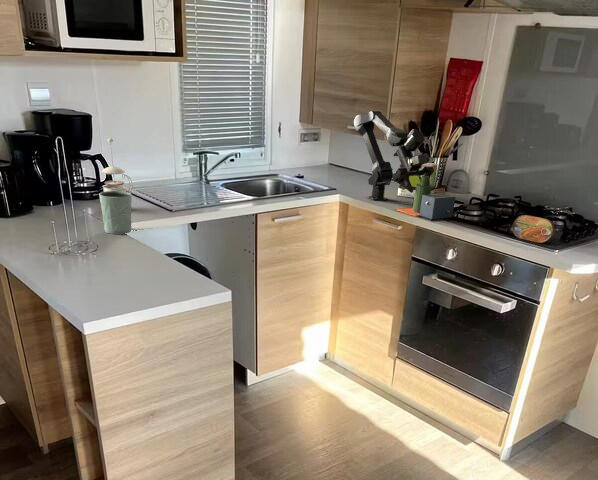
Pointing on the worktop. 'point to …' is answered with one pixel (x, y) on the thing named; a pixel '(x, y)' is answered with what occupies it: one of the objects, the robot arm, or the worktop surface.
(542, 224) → the tin
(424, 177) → the bottle
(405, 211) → the mat
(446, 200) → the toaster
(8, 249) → the worktop surface
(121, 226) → the green cup
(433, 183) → the tea box
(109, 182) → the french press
